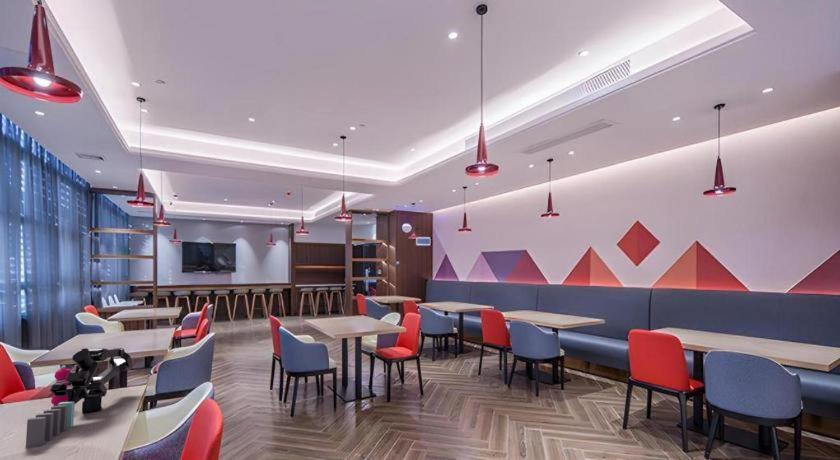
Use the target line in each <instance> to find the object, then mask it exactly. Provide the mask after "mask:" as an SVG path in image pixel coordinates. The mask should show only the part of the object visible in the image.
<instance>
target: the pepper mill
mask: <svg viewBox="0 0 840 460" xmlns="http://www.w3.org/2000/svg"><path fill="white" fill-rule="evenodd" d="M68 373H72V370H71V369H70V368H67V366H66V365H64V364H63V365H62V366H61V367H60V369H58V370H56V371H55V372H54V378H55V384H65V386H66V387H67V386H69V383H70V382H69V381H66V379H67V375H68ZM61 402H68V395H67V394H66V395H64V396H55V395H54V394H53V395H52V396H51V401H50V403H51V404H52V406H51V407H53V406H58V404H59V403H61Z"/></svg>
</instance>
